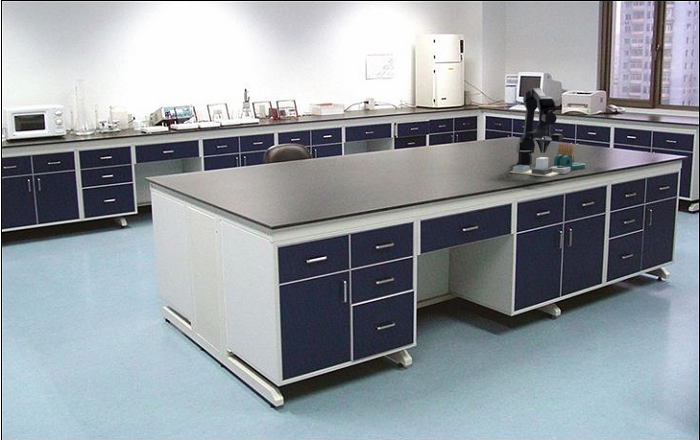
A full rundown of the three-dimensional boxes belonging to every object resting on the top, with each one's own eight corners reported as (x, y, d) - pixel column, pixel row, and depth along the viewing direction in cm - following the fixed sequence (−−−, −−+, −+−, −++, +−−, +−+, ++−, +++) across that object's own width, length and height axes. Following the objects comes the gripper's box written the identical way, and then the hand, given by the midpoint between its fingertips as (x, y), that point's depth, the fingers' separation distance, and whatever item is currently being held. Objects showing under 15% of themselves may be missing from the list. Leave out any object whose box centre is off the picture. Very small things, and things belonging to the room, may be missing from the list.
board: (510, 172, 374) (510, 171, 374) (519, 169, 382) (519, 168, 382) (550, 177, 361) (550, 175, 361) (558, 174, 368) (558, 172, 368)
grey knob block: (549, 172, 373) (549, 166, 373) (555, 170, 379) (556, 164, 379) (564, 174, 369) (564, 168, 368) (570, 171, 374) (570, 166, 374)
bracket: (562, 171, 377) (563, 156, 375) (553, 169, 383) (554, 154, 381) (587, 168, 385) (588, 153, 384) (578, 166, 391) (579, 152, 389)
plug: (535, 172, 368) (536, 158, 366) (541, 170, 373) (541, 156, 371) (542, 172, 365) (543, 159, 363) (548, 170, 370) (549, 157, 368)
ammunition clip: (573, 164, 396) (575, 143, 393) (571, 165, 395) (572, 143, 392) (558, 162, 405) (559, 141, 402) (556, 162, 404) (557, 141, 401)
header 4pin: (531, 173, 368) (531, 169, 367) (539, 170, 374) (539, 166, 374) (544, 174, 363) (544, 170, 363) (551, 172, 370) (552, 168, 369)
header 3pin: (512, 170, 375) (513, 166, 375) (519, 168, 380) (519, 164, 380) (523, 172, 371) (523, 167, 371) (529, 170, 377) (529, 165, 376)
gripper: (520, 122, 362) (518, 153, 366) (555, 125, 351) (553, 156, 354) (530, 120, 371) (528, 150, 374) (564, 123, 359) (562, 153, 363)
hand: (542, 153), depth 366 cm, fingers closed
